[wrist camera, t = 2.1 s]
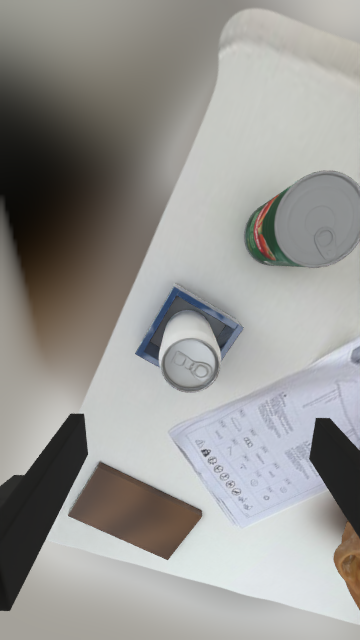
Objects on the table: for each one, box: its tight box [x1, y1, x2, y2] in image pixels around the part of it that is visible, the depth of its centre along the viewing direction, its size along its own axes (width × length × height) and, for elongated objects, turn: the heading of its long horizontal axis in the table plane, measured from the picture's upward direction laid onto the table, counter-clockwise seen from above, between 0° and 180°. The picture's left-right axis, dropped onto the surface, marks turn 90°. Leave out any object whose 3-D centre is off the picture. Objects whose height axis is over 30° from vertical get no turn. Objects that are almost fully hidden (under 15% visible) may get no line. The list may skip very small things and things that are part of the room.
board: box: [68, 462, 202, 560], centre depth 42 cm, size 20×12×1 cm, turn 60°
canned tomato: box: [244, 171, 360, 268], centre depth 26 cm, size 8×8×11 cm
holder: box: [135, 283, 244, 367], centre depth 32 cm, size 10×10×4 cm
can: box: [159, 310, 221, 393], centre depth 29 cm, size 6×6×12 cm
